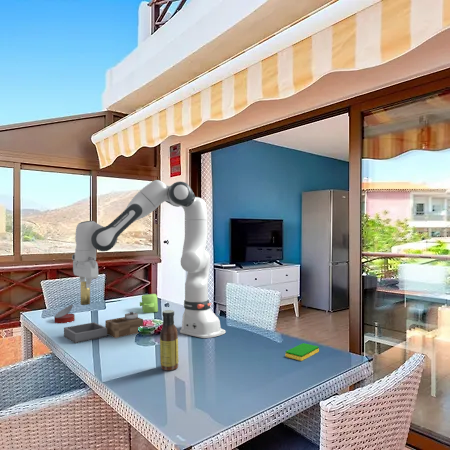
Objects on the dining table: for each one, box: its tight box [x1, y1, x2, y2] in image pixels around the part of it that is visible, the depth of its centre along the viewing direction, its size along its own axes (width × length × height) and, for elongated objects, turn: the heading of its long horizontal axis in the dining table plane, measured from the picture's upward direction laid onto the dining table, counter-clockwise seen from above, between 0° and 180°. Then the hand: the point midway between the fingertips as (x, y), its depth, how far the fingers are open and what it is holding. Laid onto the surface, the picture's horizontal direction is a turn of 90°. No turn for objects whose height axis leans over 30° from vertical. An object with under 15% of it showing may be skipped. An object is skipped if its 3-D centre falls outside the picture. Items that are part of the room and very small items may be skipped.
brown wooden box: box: [104, 311, 144, 339], centre depth 169 cm, size 10×14×9 cm
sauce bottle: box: [159, 309, 179, 371], centre depth 126 cm, size 6×6×20 cm
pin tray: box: [63, 321, 108, 345], centre depth 163 cm, size 14×14×4 cm
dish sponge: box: [284, 342, 320, 362], centre depth 140 cm, size 7×14×2 cm, turn 138°
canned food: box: [53, 304, 76, 324], centre depth 191 cm, size 11×10×10 cm
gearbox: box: [139, 293, 159, 314], centre depth 215 cm, size 18×10×10 cm, turn 17°
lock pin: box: [80, 280, 91, 306], centre depth 163 cm, size 4×4×10 cm
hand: (85, 287), depth 163 cm, fingers closed on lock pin, 4 cm apart
